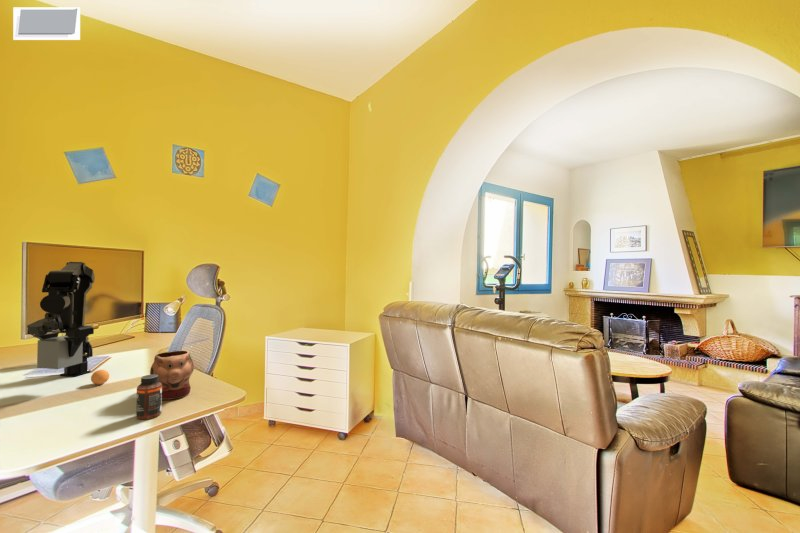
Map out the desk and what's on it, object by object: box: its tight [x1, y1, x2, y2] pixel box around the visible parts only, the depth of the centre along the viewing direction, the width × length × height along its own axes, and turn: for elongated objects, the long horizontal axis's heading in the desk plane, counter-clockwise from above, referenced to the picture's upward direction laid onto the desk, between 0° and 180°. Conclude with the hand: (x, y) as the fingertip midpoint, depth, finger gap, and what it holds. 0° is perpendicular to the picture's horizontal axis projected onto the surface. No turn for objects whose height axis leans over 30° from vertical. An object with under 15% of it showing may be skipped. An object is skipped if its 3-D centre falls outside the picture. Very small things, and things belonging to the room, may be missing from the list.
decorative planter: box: [149, 350, 195, 400], centre depth 119 cm, size 20×12×14 cm, turn 44°
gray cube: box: [36, 335, 83, 370], centre depth 118 cm, size 8×8×9 cm
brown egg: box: [90, 369, 110, 385], centre depth 126 cm, size 5×5×5 cm
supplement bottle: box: [135, 374, 163, 420], centre depth 102 cm, size 6×6×11 cm
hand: (60, 355), depth 118 cm, fingers closed on gray cube, 8 cm apart
